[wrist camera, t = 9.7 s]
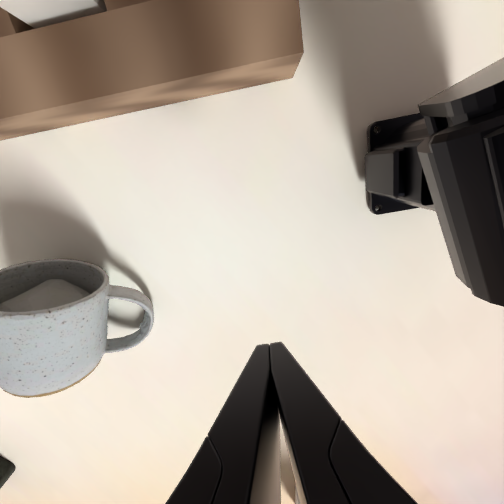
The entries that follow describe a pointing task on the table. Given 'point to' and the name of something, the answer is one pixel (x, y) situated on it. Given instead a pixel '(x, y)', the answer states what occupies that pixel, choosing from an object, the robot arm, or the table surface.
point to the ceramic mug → (58, 324)
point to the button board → (140, 58)
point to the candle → (5, 470)
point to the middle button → (51, 10)
